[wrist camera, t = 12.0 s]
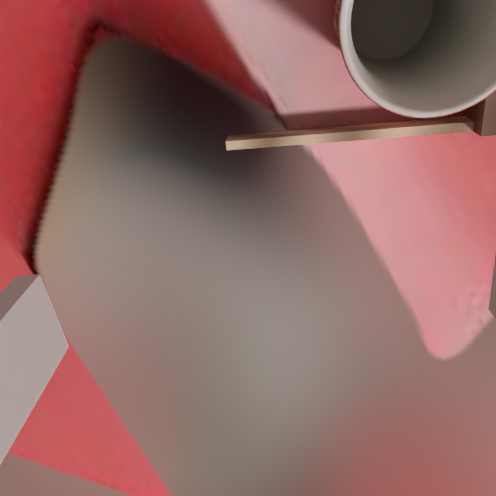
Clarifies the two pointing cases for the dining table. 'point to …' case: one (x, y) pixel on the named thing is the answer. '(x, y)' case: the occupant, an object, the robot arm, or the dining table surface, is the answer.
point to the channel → (376, 129)
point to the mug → (419, 52)
